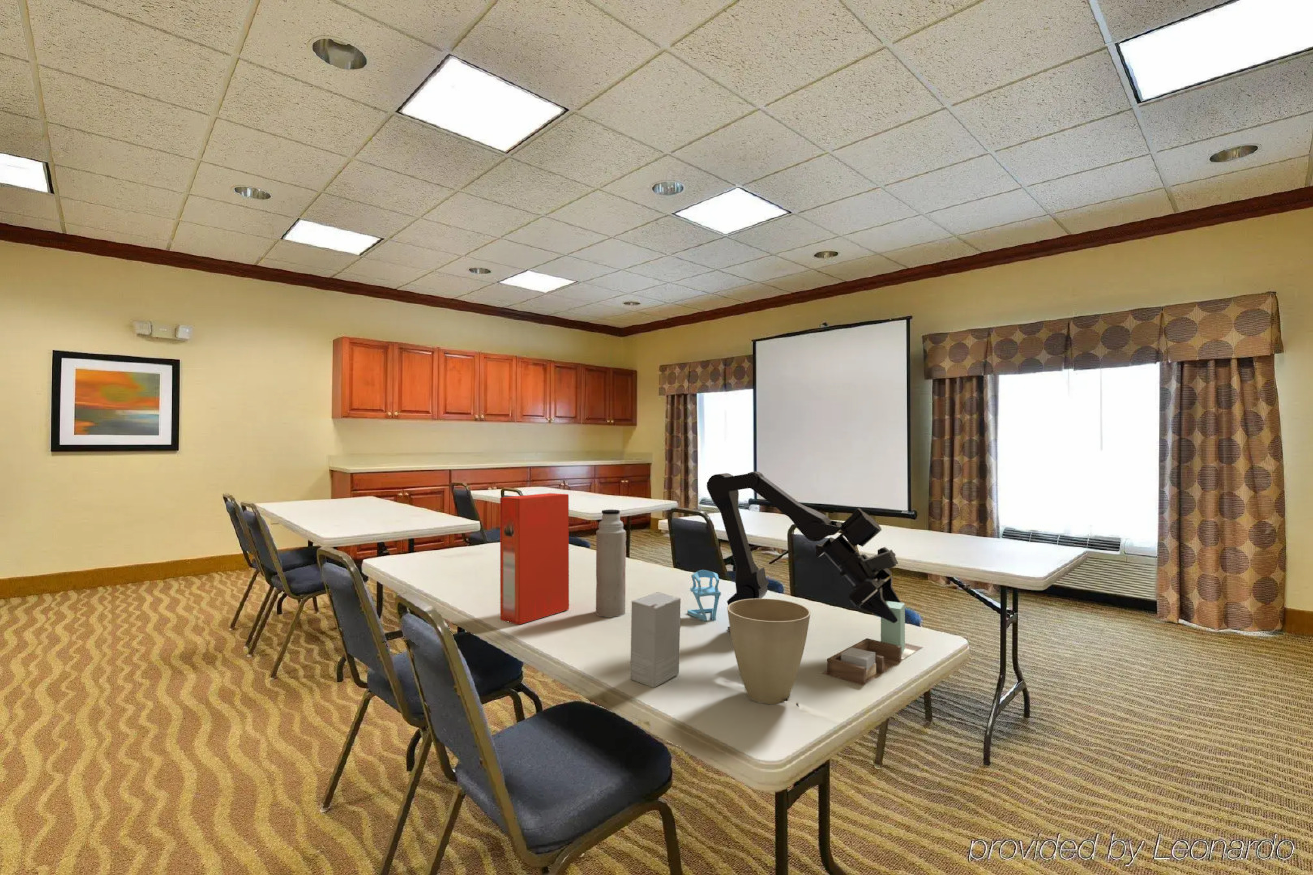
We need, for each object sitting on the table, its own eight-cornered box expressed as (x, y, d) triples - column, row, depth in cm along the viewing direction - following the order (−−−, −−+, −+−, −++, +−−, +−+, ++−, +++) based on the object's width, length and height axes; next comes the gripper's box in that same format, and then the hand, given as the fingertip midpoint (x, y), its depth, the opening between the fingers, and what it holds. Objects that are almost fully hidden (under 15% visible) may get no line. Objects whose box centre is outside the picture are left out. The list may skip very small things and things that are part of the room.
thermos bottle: (626, 609, 168) (626, 508, 168) (624, 617, 160) (624, 511, 160) (597, 608, 168) (598, 508, 168) (594, 617, 160) (594, 511, 160)
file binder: (499, 619, 157) (500, 497, 158) (548, 605, 171) (549, 492, 172) (520, 625, 153) (520, 498, 153) (568, 610, 166) (569, 494, 167)
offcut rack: (863, 690, 113) (863, 669, 113) (821, 678, 119) (821, 657, 119) (922, 651, 134) (922, 633, 134) (885, 642, 140) (885, 625, 140)
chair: (696, 622, 156) (696, 575, 156) (686, 613, 164) (687, 568, 164) (724, 620, 158) (724, 574, 158) (713, 611, 166) (714, 567, 166)
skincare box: (655, 667, 124) (655, 590, 124) (683, 676, 119) (683, 596, 120) (627, 680, 117) (627, 598, 118) (655, 689, 113) (656, 604, 113)
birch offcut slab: (864, 680, 115) (864, 670, 115) (840, 673, 118) (840, 663, 118) (876, 673, 118) (876, 663, 118) (852, 666, 122) (852, 656, 122)
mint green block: (900, 656, 128) (900, 609, 128) (880, 652, 130) (880, 606, 130) (904, 648, 132) (904, 603, 132) (885, 645, 134) (885, 600, 134)
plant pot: (713, 701, 108) (713, 612, 108) (746, 674, 120) (746, 594, 121) (794, 722, 100) (794, 625, 100) (820, 690, 113) (820, 605, 113)
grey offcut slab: (866, 670, 115) (866, 659, 115) (841, 664, 118) (841, 653, 118) (875, 662, 119) (875, 652, 119) (850, 657, 122) (850, 647, 122)
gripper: (864, 542, 125) (922, 603, 119) (882, 531, 141) (933, 584, 135) (826, 576, 129) (880, 636, 123) (848, 561, 145) (896, 614, 139)
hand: (899, 616), depth 130 cm, fingers open, 9 cm apart
